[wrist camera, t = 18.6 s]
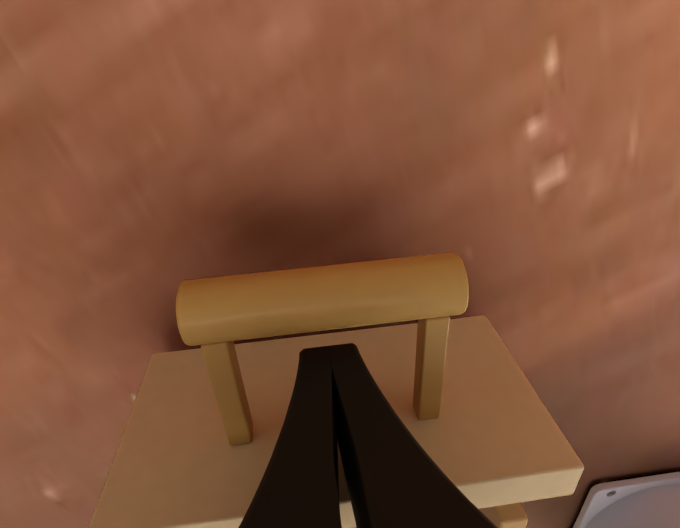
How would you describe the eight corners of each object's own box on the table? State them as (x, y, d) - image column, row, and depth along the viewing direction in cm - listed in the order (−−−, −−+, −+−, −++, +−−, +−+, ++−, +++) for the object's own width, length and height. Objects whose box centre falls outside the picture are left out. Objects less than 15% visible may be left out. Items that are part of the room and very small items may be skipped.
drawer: (100, 220, 12) (-32, 382, 7) (507, 182, 13) (656, 302, 8) (223, 543, 21) (205, 712, 16) (453, 508, 22) (504, 658, 17)
